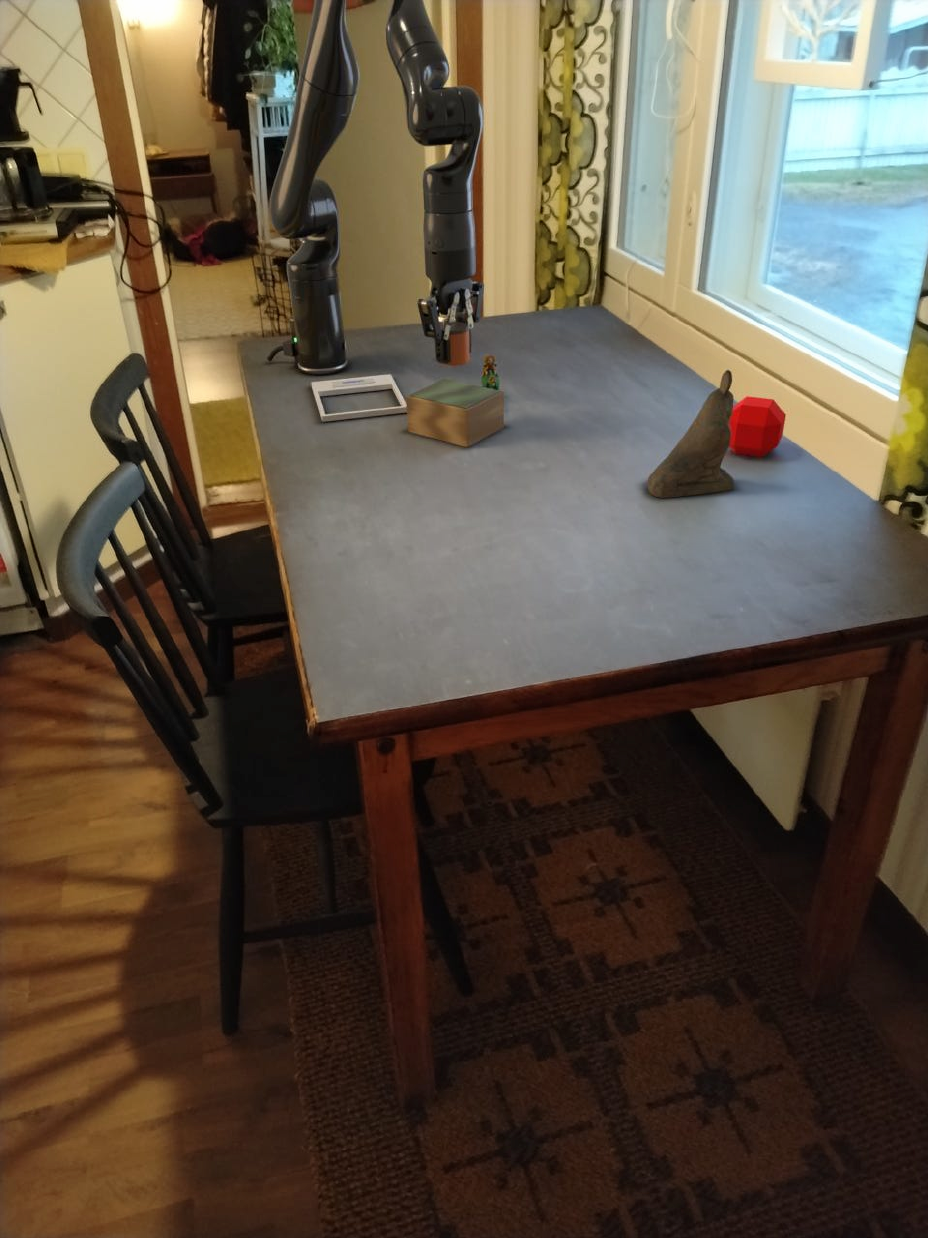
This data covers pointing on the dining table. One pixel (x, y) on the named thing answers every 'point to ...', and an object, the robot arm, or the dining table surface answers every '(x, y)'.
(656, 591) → the dining table surface
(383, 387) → the photo frame
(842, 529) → the dining table surface
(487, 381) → the figurine
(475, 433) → the riser block
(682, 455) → the brown carved statuette
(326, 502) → the dining table surface
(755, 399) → the ball
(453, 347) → the orange tin
